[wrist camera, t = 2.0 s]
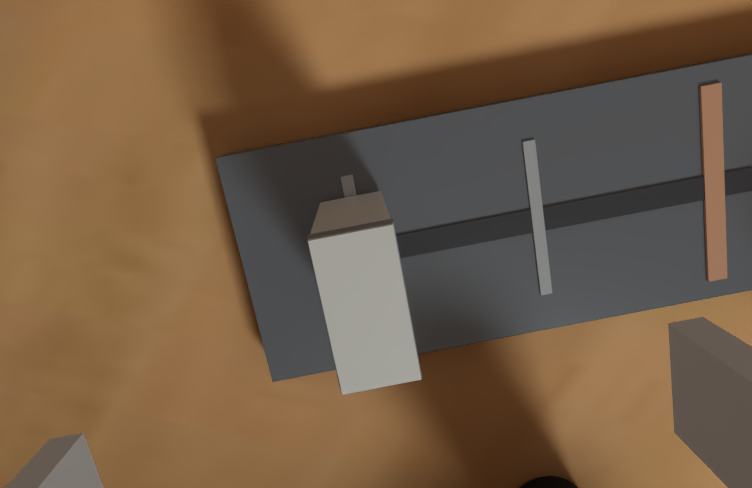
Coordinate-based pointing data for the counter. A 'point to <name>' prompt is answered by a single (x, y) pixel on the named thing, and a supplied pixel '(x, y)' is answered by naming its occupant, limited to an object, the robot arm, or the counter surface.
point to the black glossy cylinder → (549, 483)
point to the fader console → (515, 209)
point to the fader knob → (363, 293)
